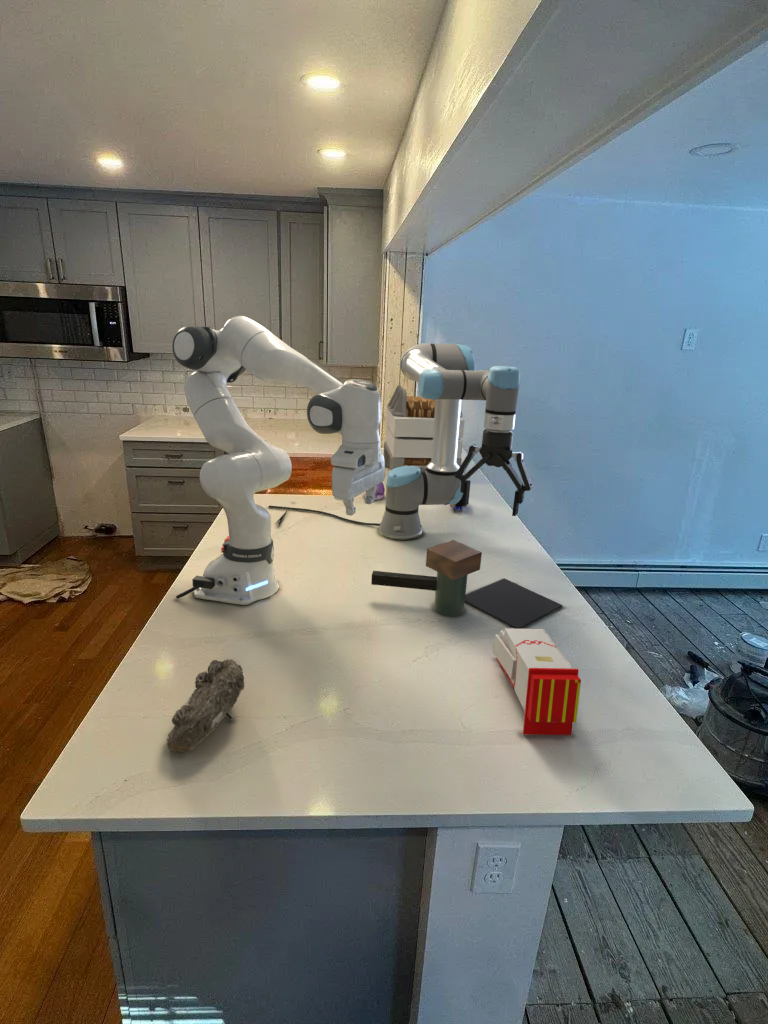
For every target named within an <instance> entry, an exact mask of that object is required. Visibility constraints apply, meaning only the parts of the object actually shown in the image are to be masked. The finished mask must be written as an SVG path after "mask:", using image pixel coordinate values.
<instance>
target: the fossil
mask: <svg viewBox="0 0 768 1024" xmlns="http://www.w3.org/2000/svg"><path fill="white" fill-rule="evenodd" d="M243 670H244V669H243V667H242V665H240V664H237V662H236V661H235V660H234V659H232V658H231V659H227V658H226V659H224V660H223V661H222V660H217V659H212V660H211V661H210V663H209V665H208V666H207V671H201V672H199V673H198V674H197V675H196V676H195V680H194V684H195V685H194V687H195V689H194V690H193V693H192V694H191V697H190V698H189V700H188V704H184V705H182V706H181V707H180V709H177V710H176V711H175V713H174V715H173V716H172V718H171V723H172V724H173V727H172V730H171V731H170V732H168V734H167V738H166V741H167V742H166V745H167V749H168V750H169V751H173V752H174V753H176V754H178V753H182V752H188V751H189V752H192V751H193V750H195V748H196V747H197V746H199V744H200V743H201V742H203V741H204V740H205V739H206V738H207V737H208V736H209V735H210V734H211V733H212V732H214V730H215V729H217V727H218V726H219V724H220V722H221V721H222V720H223V719H224V718H225V716H226V717H227V719H229V720H233V717H232V715H230V714H229V710H230V709H231V708H234V706H235V704H236V703H237V702H238V699H239V697H240V695H241V693H242V691H243V690H245V689H244V688H245V675H244V671H243Z"/></svg>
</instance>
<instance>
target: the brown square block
mask: <svg viewBox="0 0 768 1024" xmlns="http://www.w3.org/2000/svg"><path fill="white" fill-rule="evenodd" d="M482 554H483V551H480V550H478V549H475V548H473V547H470V546H469V545H466V544H464V543H461V542H459V541H457V540H454V539H452V540H449V541H446V542H443V543H440V544H436V545H434V546H430V547H427V548H426V554H425V555H426V556H425V567H427V568H429V569H430V570H433V571H435V572H436V573H437V572H439V573H441V574H443V575H445V576H447V577H449V578H451V579H453V580H455V579H458V578H460V577H463V576H465V575H468V576H469V575H470V574H472V573H476V572H478V571H480V570H481V566H482V565H481V564H482V557H483V555H482Z"/></svg>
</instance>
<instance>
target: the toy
mask: <svg viewBox="0 0 768 1024" xmlns="http://www.w3.org/2000/svg"><path fill="white" fill-rule="evenodd" d="M499 632H500V633H499V634H496V633H495V635H494V641H493V649H492V653H493V654H494V655H495V657H496V658H495V659H496V660H497V662H498V663H499V665H500V668H501V670H502V671H503V672H504V674H505V676H506V678H507V680H508V681H509V683H510V685H511V686H512V688H513V689H514V693H515V694H516V696H517V698H518V701H519V702H520V704H521V706H522V708H523V711H524V719H523V728H522V734H523V735H524V736H525V735H527V736H572V733H573V725H574V723H577V718H578V711H579V702H580V694H581V693H580V692H581V686H582V685H581V684H582V679H581V677H580V676H579V671H580V670H579V669H578V668H573V667H572V665H571V664H570V663H569V662H568V660H567V659H566V657H565V656H564V654H562V652H561V650H560V649H559V648H558V646H557V645H556V644H555V643H554V641H553V640H552V639H551V637H550V636H549V634H548V633H547V631H546V630H545V629H544V628H521V629H515V628H512V627H509V628H508V627H507V628H506V627H505V628H504V629H501V630H500V631H499Z"/></svg>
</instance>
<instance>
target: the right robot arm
mask: <svg viewBox="0 0 768 1024" xmlns="http://www.w3.org/2000/svg"><path fill="white" fill-rule="evenodd" d="M399 362H400V363H399V367H400V370H401V373H402V374H403V376H404V377H405V378H407V379H408V380H410V381H412V382H416V383H418V392H419V397H422V398H424V399H432V400H436V402H435V416H434V430H433V444H432V458H431V462H430V463H429V464H428V465H427V466H425V467H426V468H425V470H424V471H422V469H421V467H420V466H407V465H404V466H402V467H397V468H394V469H392V470H390V469H389V470H388V473H387V475H386V480H385V504H384V505H385V507H384V508H385V509H384V513H383V515H382V519H381V522H379V523H378V522H377V523H374V522H363V521H357V520H353V519H349V518H346V517H342V516H339V515H337V514H334V513H331V512H325V511H321V510H315V509H310V508H300V507H289V506H279V505H271V504H270V505H268V508H270V509H280V510H288V511H289V510H291V511H301V512H309V513H316V514H321V515H325V516H330V517H334V518H336V519H339V520H342V521H344V522H345V521H346V522H349V523H351V524H352V523H353V524H358V525H364V526H372V527H373V526H375V527H378V533H379V534H380V535H381V536H382V537H385V538H387V539H389V540H395V541H410V540H415V539H418V538H420V537H421V536H422V535H423V525H422V524H421V518H420V515H419V507H420V506H436V505H437V506H441V505H443V506H448V505H449V506H450V504H456V503H458V502H459V501H460V499H461V498H462V495H463V504H462V506H466V505H467V506H468V505H469V502H470V491H471V480H470V478H471V477H472V476H473V475H474V474H475V473H476V472H477V471H479V470H480V468H482V467H483V466H484V465H487V466H488V467H496V468H502V469H503V470H504V471H505V473H506V474H507V475H508V477H509V479H510V480H511V481H512V483H513V485H514V486H515V488H516V490H515V491H514V498H513V506H512V514H511V516H512V517H516V516H517V515H518V513H519V507H520V505H522V504H523V502H524V499H525V492H529V491H531V490H532V489H533V487H534V485H533V482H532V480H531V476H530V474H529V471H528V469H527V465H526V463H525V453H524V451H523V450H520V451H513V439H514V432H513V430H515V423H516V414H517V413H516V412H517V406H518V398H519V390H520V386H521V371H520V369H519V368H518V367H515V366H508V365H494V366H491V367H490V368H489V369H479V370H476V361H475V355H474V352H473V350H472V348H471V347H470V346H469V345H467V344H458V343H429V342H424V343H419V344H415V345H413V346H411V347H409V348H407V349H406V350H405V351H404V352H403V354H402V355H401V358H400V361H399ZM462 401H485V408H484V409H485V410H484V419H483V420H484V422H483V427H484V430H482V438H481V446H477V445H476V443H475V444H471V445H470V446H469V447H468V452H467V455H466V456H465V458H464V459H463V460H462V462H461V466H460V467H459V466H458V465H457V463H456V459H457V447H458V435H459V423H460V411H461V412H462ZM478 453H479V455H480V456H481V459H480V460H478V461H477V463H476V464H474V465H473V467H471V468H470V469H469V470H468V471H466V469H467V468H468V467H469V465H470V463H471V461H472V460H473V458H474V457H475V455H477V454H478ZM511 458H513V460H514V461H515V462H516V465H517V468H518V472H519V474H520V476H519V475H518V473H517V471H516V469H515V468H514V467H513V465H512V462H511ZM465 472H466V473H465ZM464 473H465V474H464ZM468 479H469V480H468Z"/></svg>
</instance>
